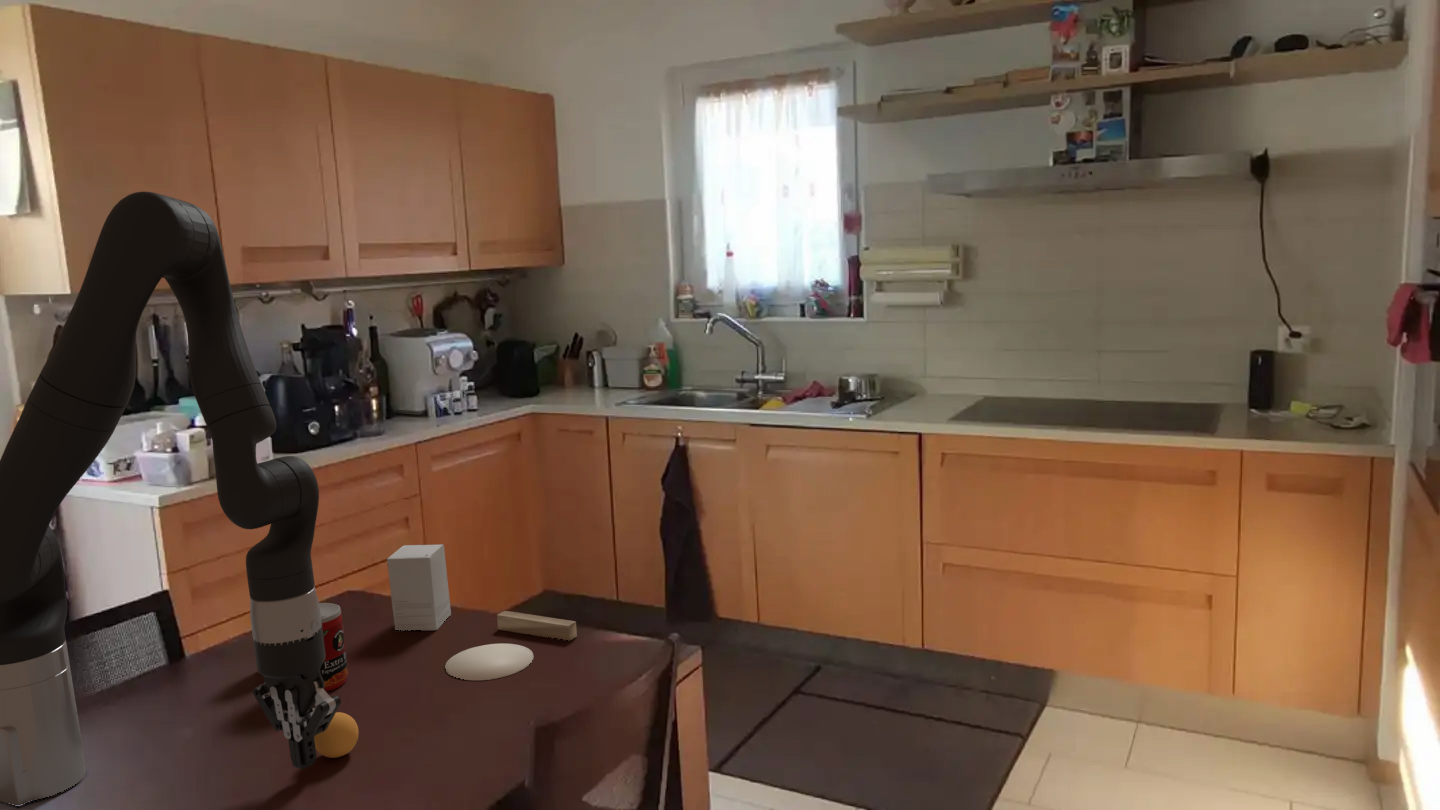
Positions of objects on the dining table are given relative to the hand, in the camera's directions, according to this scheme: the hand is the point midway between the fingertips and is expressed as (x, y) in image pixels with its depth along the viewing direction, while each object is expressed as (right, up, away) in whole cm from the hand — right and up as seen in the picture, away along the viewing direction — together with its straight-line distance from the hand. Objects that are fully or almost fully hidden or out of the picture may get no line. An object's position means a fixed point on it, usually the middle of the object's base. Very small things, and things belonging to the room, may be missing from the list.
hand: (304, 765), depth 125 cm
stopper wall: (+20, +6, +43) cm, 48 cm away
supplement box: (0, +6, +49) cm, 50 cm away
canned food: (-9, +2, +27) cm, 29 cm away
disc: (+15, +4, +32) cm, 36 cm away
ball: (+2, +2, +5) cm, 6 cm away
